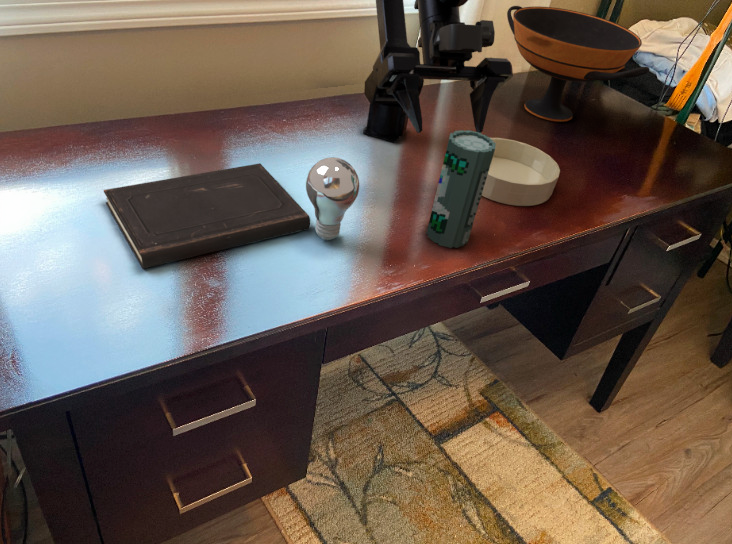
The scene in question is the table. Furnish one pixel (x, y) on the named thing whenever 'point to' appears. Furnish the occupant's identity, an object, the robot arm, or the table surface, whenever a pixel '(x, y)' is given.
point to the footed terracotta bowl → (570, 52)
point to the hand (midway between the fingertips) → (450, 132)
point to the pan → (520, 174)
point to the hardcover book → (203, 213)
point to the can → (460, 187)
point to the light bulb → (331, 194)
